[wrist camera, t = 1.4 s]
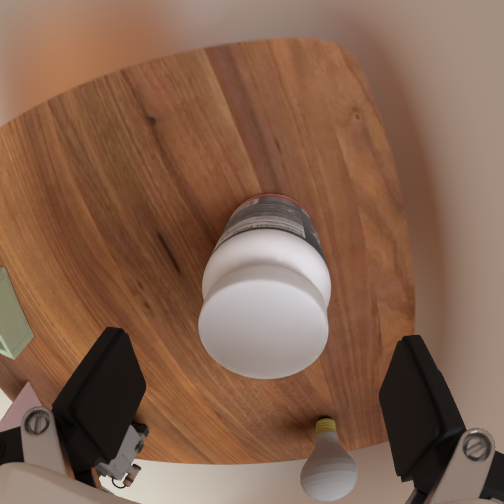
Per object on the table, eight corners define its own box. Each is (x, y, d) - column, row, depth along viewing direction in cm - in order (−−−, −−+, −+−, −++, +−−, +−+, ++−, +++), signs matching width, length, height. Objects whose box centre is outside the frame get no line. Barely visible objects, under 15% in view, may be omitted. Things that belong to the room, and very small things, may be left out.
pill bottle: (310, 276, 20) (325, 391, 11) (227, 270, 20) (191, 381, 11) (319, 194, 18) (358, 272, 9) (227, 188, 18) (174, 260, 9)
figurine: (64, 374, 29) (11, 460, 16) (137, 390, 28) (89, 503, 15) (92, 415, 33) (54, 493, 20) (160, 432, 32) (129, 526, 18)
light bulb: (344, 429, 28) (351, 504, 19) (297, 431, 29) (296, 508, 20) (355, 404, 26) (367, 488, 17) (303, 406, 26) (304, 494, 17)
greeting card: (24, 377, 32) (-19, 441, 19) (59, 407, 34) (21, 474, 21) (17, 392, 36) (-18, 446, 23) (46, 418, 38) (15, 473, 25)
